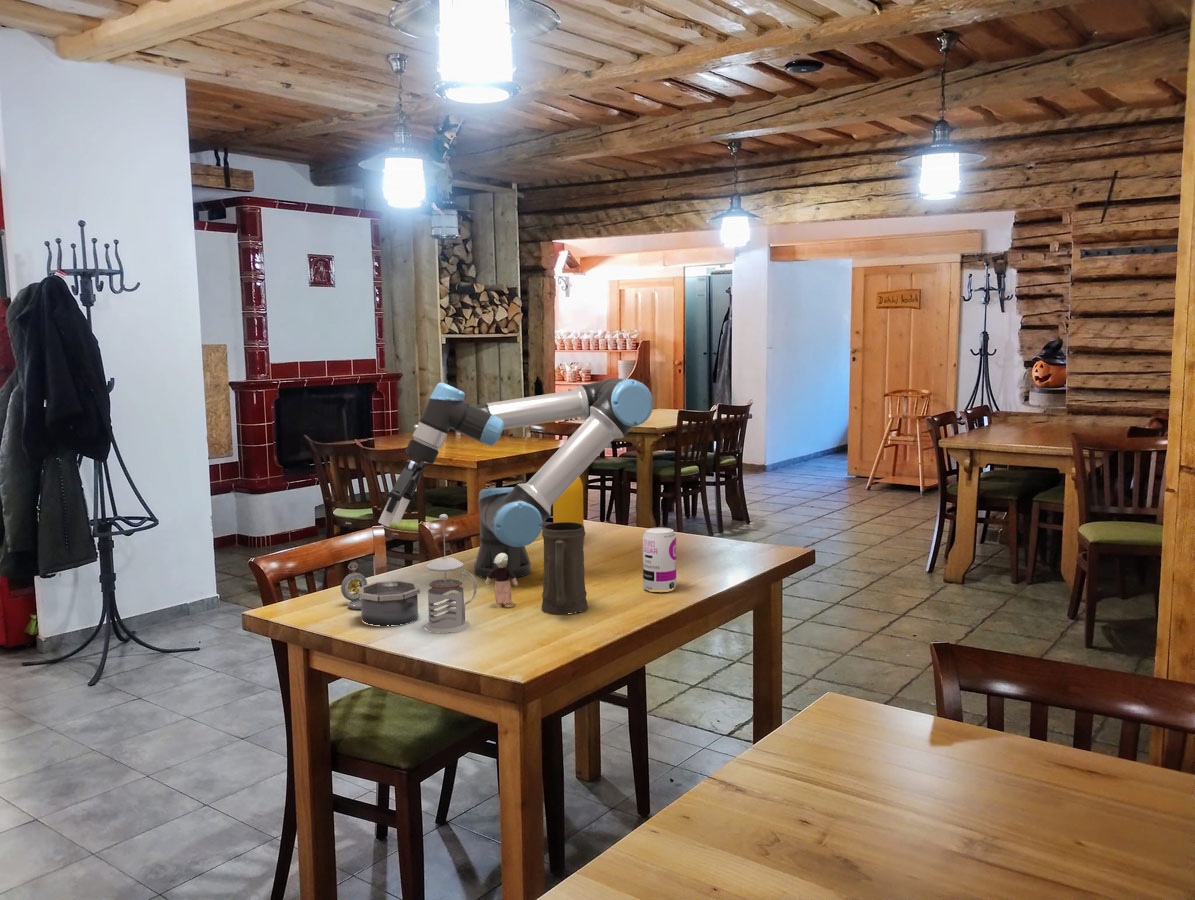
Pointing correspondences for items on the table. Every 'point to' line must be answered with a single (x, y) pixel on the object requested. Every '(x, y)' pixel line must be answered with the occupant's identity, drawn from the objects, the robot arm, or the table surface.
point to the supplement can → (659, 559)
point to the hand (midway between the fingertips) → (388, 523)
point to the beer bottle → (570, 504)
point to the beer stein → (564, 568)
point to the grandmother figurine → (502, 581)
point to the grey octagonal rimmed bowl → (389, 602)
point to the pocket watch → (351, 583)
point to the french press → (453, 617)
